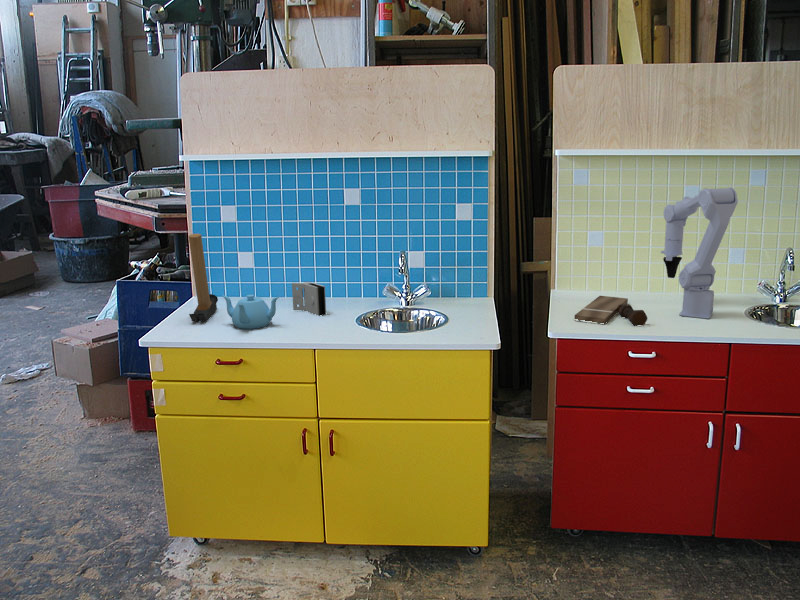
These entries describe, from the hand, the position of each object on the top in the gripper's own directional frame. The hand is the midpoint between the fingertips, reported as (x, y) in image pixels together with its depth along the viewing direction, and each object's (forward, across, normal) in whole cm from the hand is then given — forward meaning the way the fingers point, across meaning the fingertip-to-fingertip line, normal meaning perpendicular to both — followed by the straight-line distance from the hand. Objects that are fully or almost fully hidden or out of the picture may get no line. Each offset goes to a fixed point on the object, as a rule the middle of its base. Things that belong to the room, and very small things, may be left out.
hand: (671, 277), depth 265 cm
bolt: (+10, +27, -7) cm, 30 cm away
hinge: (+10, +66, -109) cm, 128 cm away
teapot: (+10, +89, -116) cm, 147 cm away
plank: (+9, +22, -18) cm, 30 cm away
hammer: (+10, +87, -139) cm, 164 cm away
